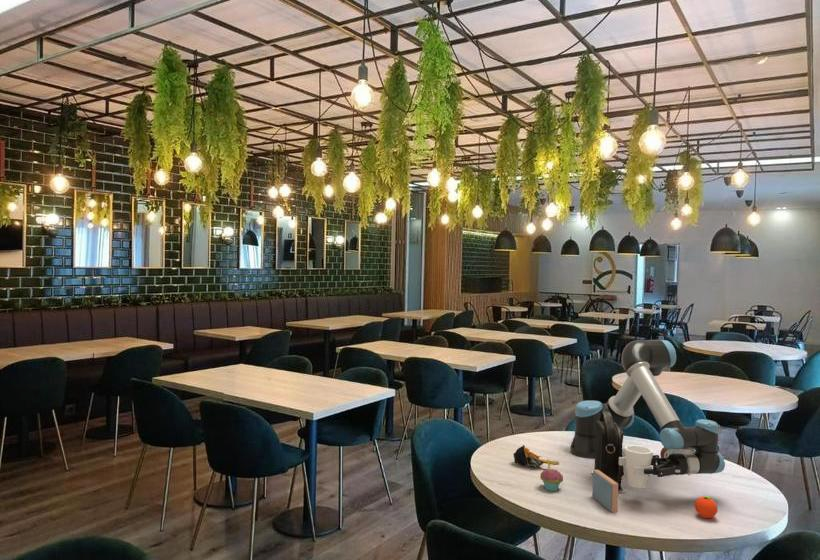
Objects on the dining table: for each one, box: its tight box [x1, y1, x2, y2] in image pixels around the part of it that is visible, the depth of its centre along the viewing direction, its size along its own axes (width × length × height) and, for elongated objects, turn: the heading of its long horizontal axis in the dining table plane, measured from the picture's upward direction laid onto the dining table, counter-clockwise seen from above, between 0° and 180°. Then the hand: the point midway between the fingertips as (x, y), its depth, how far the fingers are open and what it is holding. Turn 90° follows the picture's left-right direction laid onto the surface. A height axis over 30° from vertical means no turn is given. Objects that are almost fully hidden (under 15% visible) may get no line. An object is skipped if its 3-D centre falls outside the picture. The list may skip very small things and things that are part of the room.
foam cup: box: [624, 444, 654, 489], centre depth 208 cm, size 10×9×13 cm
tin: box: [659, 446, 695, 458], centre depth 249 cm, size 15×3×8 cm, turn 84°
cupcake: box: [539, 459, 564, 492], centre depth 219 cm, size 9×8×12 cm
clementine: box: [694, 495, 718, 519], centre depth 197 cm, size 8×7×7 cm
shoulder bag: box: [590, 411, 625, 494], centre depth 227 cm, size 23×9×28 cm, turn 172°
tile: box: [591, 469, 619, 513], centre depth 206 cm, size 2×14×10 cm, turn 10°
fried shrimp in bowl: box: [513, 444, 560, 469], centre depth 243 cm, size 9×11×18 cm
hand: (626, 466), depth 207 cm, fingers closed on foam cup, 9 cm apart
